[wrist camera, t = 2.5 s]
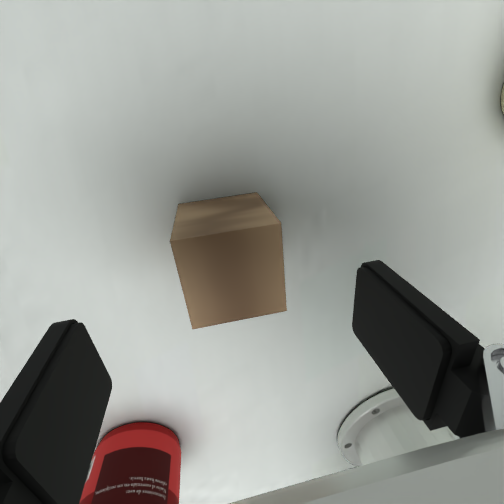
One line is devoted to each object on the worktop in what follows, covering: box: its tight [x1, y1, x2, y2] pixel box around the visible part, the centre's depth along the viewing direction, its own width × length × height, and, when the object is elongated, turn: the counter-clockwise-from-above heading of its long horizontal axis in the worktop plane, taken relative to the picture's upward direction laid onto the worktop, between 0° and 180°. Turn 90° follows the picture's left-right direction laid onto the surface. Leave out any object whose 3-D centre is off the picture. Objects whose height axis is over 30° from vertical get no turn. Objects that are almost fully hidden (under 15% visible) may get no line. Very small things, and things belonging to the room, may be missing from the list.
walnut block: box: [170, 192, 287, 329], centre depth 16 cm, size 5×5×6 cm
